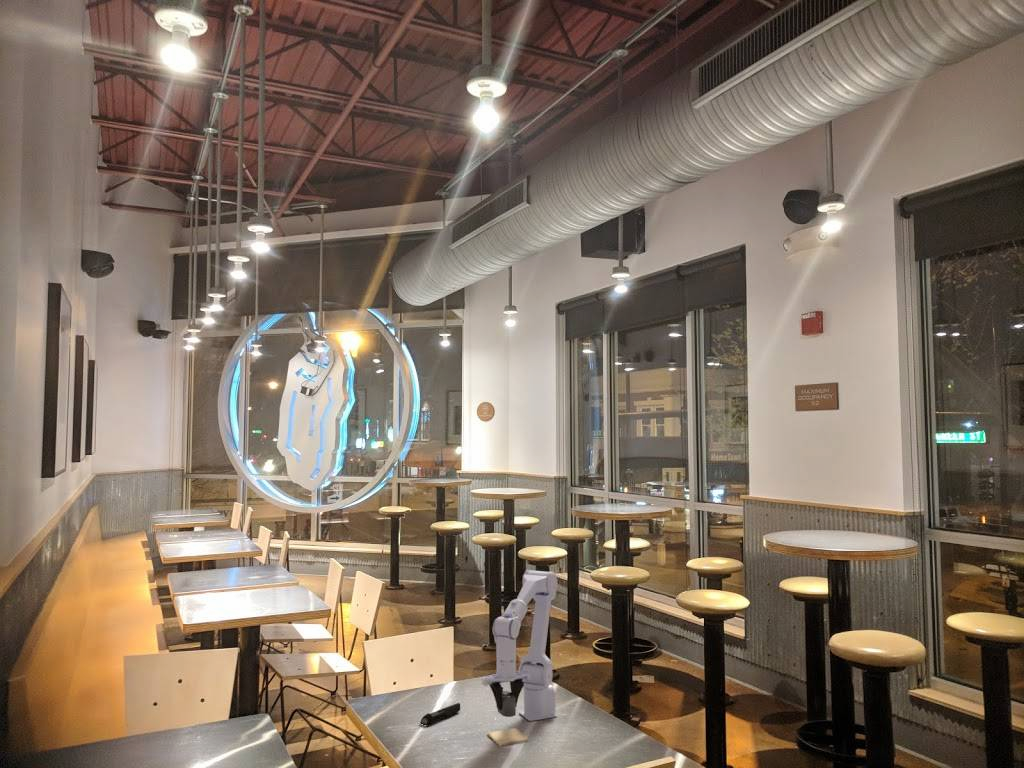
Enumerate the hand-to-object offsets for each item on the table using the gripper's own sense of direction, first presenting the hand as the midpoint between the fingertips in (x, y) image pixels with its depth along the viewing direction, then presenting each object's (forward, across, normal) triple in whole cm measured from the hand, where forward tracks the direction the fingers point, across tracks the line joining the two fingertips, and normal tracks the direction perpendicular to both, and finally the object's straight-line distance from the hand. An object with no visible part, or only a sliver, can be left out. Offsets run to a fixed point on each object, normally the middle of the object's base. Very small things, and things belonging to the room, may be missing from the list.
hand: (506, 707), depth 217 cm
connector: (+1, 0, 0) cm, 1 cm away
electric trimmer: (+9, -13, +22) cm, 27 cm away
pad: (+8, 0, 0) cm, 8 cm away
